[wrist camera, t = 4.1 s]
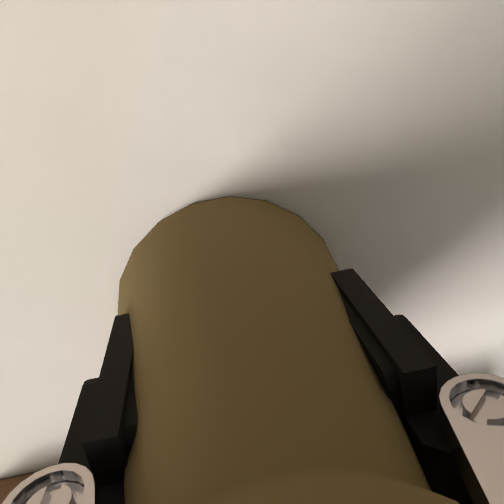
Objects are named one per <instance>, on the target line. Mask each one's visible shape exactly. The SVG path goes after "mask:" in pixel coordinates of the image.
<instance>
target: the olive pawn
mask: <svg viewBox="0 0 504 504" xmlns="http://www.w3.org/2000/svg"><path fill="white" fill-rule="evenodd" d="M337 271H338V268H337V266H336V264H335V262H334V260H333V258H332V256H331V254H330V252H329V250H328V248H327V246H326V244H325V242H324V240H323V238H322V237H321V236H320V235H319V234H318V233H317V232H316V231H314V230H313V229H312V228H311V227H310V226H309V225H308V224H307V223H306V222H305V221H304V220H303V219H302V218H301V217H300V216H299V215H297V214H295V213H292V212H290V211H288V210H286V209H284V208H281V207H279V206H277V205H275V204H273V203H271V202H268V201H265V200H256V199H247V198H238V197H225V198H219V199H214V200H209V201H204V202H199V203H194V204H191V205H189V206H187V207H185V208H184V209H182V210H180V211H178V212H176V213H175V214H173V215H171V216H169V217H167V218H165V219H164V220H162V221H160V222H158V223H157V225H156V226H155V227H154V228H153V229H152V230H151V231H150V232H149V233H148V234H147V235H146V236H145V237H144V238H143V240H142V241H141V242H140V243H139V244H138V245H137V246H136V247H135V248H134V249H133V252H132V254H131V256H130V259H129V261H128V263H127V265H126V268H125V270H124V272H123V274H122V277H121V279H120V285H119V301H118V315H122V314H127V313H129V315H130V322H131V330H132V338H133V345H134V346H133V364H132V371H133V379H134V388H135V397H136V405H137V414H138V421H137V433H136V437H135V440H134V443H133V446H132V448H131V450H130V453H129V455H128V461H127V466H126V468H125V475H124V494H125V504H459V503H458V502H457V501H455V500H452V499H450V498H447V497H445V496H442V495H440V494H437V493H434V492H432V490H431V488H430V486H429V483H428V481H427V479H426V476H425V474H424V471H423V469H422V467H421V464H420V462H419V460H418V457H417V455H416V453H415V450H414V448H413V446H412V444H411V441H410V439H409V437H408V435H407V432H406V430H405V428H404V426H403V423H402V421H401V419H400V417H399V415H398V413H397V411H396V409H395V407H394V405H393V403H392V401H391V400H390V399H389V398H388V396H387V394H386V392H385V390H384V388H383V386H382V384H381V382H380V380H379V378H378V377H377V375H376V373H375V371H374V369H373V367H372V365H371V363H370V361H369V359H368V357H367V355H366V353H365V351H364V349H363V347H362V345H361V343H360V341H359V339H358V337H357V335H356V333H355V331H354V329H353V327H352V325H351V323H350V321H349V318H348V315H347V312H346V309H345V306H344V303H343V300H342V297H341V294H340V291H339V288H338V287H337V285H336V283H335V281H334V279H333V277H332V275H331V273H332V272H337Z"/></svg>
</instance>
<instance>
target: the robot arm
mask: <svg viewBox="0 0 504 504" xmlns="http://www.w3.org/2000/svg"><path fill="white" fill-rule="evenodd" d="M331 275H332V277H333V279H334V281H335V283H336V285H337V287H338V288H339V291H340V294H341V297H342V300H343V303H344V306H345V309H346V312H347V315H348V318H349V321H350V323H351V325H352V327H353V329H354V331H355V333H356V335H357V337H358V339H359V341H360V343H361V345H362V347H363V349H364V351H365V353H366V355H367V357H368V359H369V361H370V363H371V365H372V367H373V369H374V371H375V373H376V375H377V377H378V378H379V380H380V382H381V384H382V386H383V388H384V390H385V392H386V394H387V396H388V398H389V399H390V400H391V401H392V403H393V405H394V407H395V409H396V411H397V413H398V415H399V417H400V419H401V421H402V423H403V426H404V428H405V430H406V432H407V435H408V437H409V439H410V441H411V444H412V446H413V448H414V450H415V453H416V455H417V457H418V460H419V462H420V464H421V467H422V469H423V471H424V474H425V476H426V479H427V481H428V483H429V486H430V488H431V490H432V492H434V493H437V494H440V495H442V496H445V497H447V498H450V499H452V500H455V501H457V502H458V503H459V504H504V378H502V377H500V376H496V375H490V374H484V373H471V374H465V375H460V376H459V375H458V374H457V373H456V372H455V371H454V370H453V369H452V368H451V367H450V365H449V364H448V363H447V362H446V361H445V360H444V359H443V358H442V357H441V356H440V354H439V353H438V352H437V351H436V350H435V349H434V348H433V347H432V346H431V345H430V343H429V342H428V341H427V340H426V339H425V338H424V337H423V336H422V335H421V333H420V332H419V331H418V330H417V329H416V328H415V327H414V326H413V325H412V324H411V322H410V321H409V320H408V319H407V318H406V317H405V316H403V315H395V316H393V315H392V314H391V312H390V311H389V310H388V309H387V308H386V307H385V305H384V304H383V303H382V302H381V301H380V300H379V299H378V297H377V296H376V295H375V294H374V293H373V292H372V290H371V289H370V288H369V287H368V286H367V285H366V283H365V282H364V281H363V280H362V279H361V278H360V277H359V275H358V274H357V273H356V272H355V271H354V270H353V269H347V270H342V271H337V272H332V273H331ZM133 346H134V345H133V338H132V330H131V322H130V315H129V313H127V314H122V315H117V316H116V317H115V319H114V323H113V327H112V331H111V335H110V338H109V342H108V346H107V350H106V353H105V357H104V361H103V365H102V368H101V372H100V376H99V378H94V379H89V380H86V381H85V382H84V384H83V386H82V390H81V393H80V396H79V399H78V402H77V406H76V409H75V412H74V415H73V419H72V422H71V425H70V428H69V431H68V435H67V438H66V441H65V444H64V448H63V451H62V454H61V457H60V460H59V464H57V465H53V466H49V467H47V468H45V469H43V470H40V471H38V472H36V473H34V474H33V475H31V476H30V477H28V478H27V479H25V480H24V481H22V482H21V483H20V484H19V485H18V486H17V487H16V488H15V489H13V490H12V491H11V492H10V493H9V495H8V496H7V497H6V499H5V500H4V502H3V503H2V504H125V494H124V475H125V468H126V466H127V461H128V455H129V453H130V450H131V448H132V446H133V443H134V440H135V437H136V433H137V421H138V414H137V405H136V397H135V388H134V379H133V371H132V364H133Z"/></svg>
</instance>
